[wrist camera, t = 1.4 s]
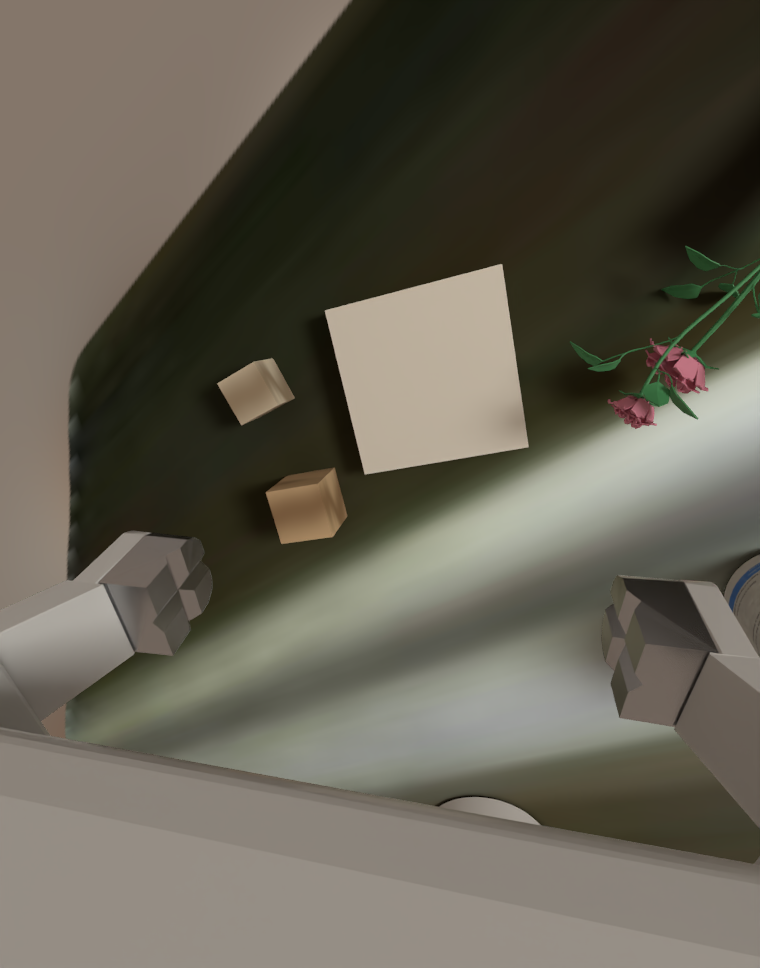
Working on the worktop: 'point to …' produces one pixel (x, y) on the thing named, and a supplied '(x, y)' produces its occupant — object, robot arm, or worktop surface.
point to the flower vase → (674, 353)
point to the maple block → (255, 390)
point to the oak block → (307, 506)
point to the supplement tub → (746, 599)
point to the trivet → (431, 372)
